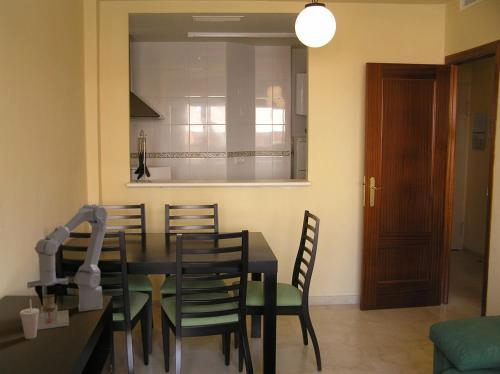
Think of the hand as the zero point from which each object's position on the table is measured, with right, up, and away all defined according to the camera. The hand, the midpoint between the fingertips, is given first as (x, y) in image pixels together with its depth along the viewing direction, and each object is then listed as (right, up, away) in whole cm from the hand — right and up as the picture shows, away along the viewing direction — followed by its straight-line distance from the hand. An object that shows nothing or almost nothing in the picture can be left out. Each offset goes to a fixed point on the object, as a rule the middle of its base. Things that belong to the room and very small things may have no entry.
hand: (48, 303), depth 181 cm
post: (0, -5, 0) cm, 5 cm away
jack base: (0, -7, +1) cm, 7 cm away
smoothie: (-1, -9, -14) cm, 16 cm away
